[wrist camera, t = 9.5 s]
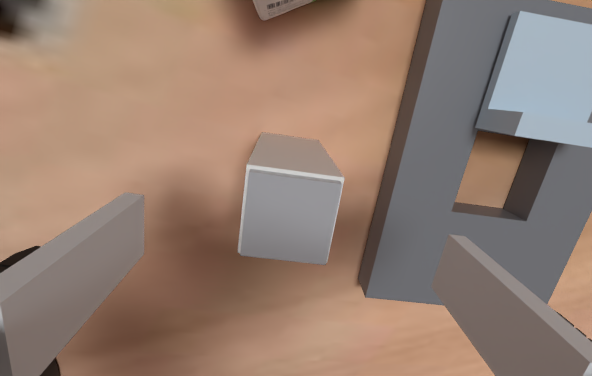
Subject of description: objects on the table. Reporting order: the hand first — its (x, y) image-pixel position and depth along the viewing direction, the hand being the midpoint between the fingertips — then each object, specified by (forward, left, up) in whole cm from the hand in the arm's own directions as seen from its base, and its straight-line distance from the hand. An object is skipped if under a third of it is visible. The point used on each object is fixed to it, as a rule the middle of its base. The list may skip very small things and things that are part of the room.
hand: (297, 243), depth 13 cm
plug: (0, 0, -15) cm, 15 cm away
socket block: (+18, +2, -15) cm, 23 cm away
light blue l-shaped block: (+18, +10, -12) cm, 23 cm away
